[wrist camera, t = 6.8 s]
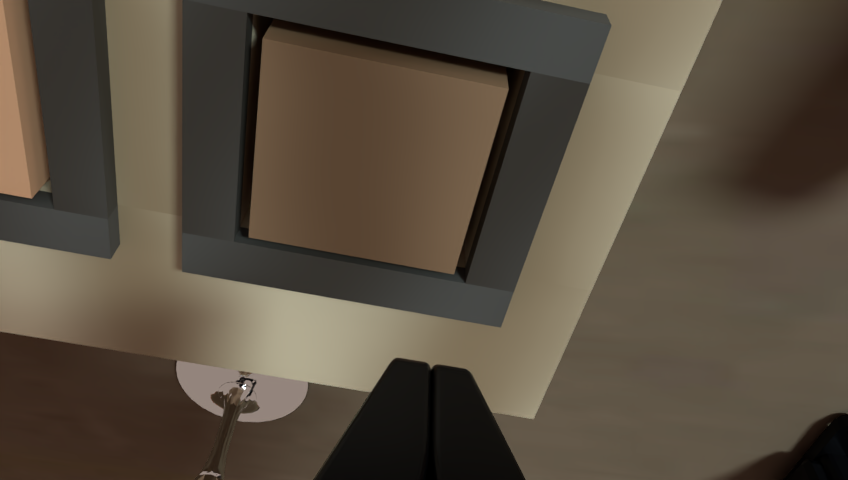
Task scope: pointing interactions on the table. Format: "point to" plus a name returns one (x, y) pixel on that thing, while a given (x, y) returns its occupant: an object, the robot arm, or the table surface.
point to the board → (314, 269)
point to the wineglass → (236, 403)
